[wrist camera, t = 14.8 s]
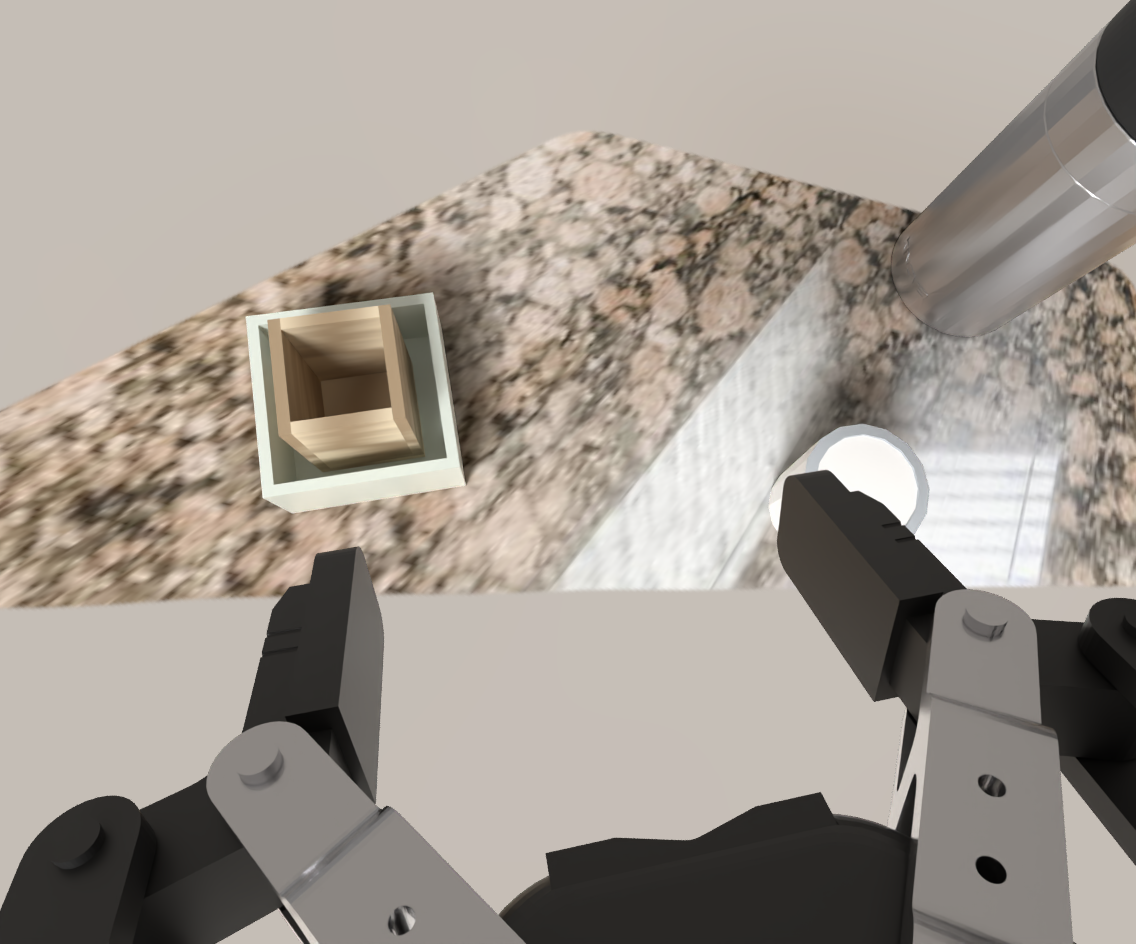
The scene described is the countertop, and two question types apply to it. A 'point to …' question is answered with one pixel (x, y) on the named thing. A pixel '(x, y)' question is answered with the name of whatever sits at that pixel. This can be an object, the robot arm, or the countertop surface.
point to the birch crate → (345, 388)
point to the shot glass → (866, 471)
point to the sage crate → (311, 489)
